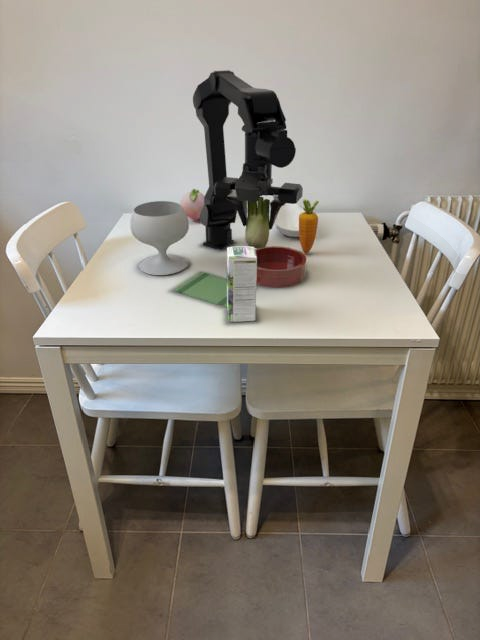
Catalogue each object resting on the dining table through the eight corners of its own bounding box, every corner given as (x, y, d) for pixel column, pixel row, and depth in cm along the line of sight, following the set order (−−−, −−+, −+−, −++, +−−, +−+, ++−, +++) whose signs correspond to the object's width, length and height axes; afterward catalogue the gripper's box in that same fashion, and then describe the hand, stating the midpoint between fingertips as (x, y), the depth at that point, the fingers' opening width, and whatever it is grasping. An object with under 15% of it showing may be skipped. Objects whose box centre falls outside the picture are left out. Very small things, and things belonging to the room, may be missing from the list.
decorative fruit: (181, 216, 155) (179, 185, 149) (207, 214, 155) (205, 183, 150) (181, 226, 147) (179, 193, 141) (208, 225, 147) (207, 192, 142)
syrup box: (226, 308, 104) (225, 246, 96) (253, 307, 104) (254, 245, 97) (228, 322, 99) (226, 257, 91) (256, 321, 99) (257, 256, 92)
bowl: (234, 278, 116) (233, 262, 114) (263, 256, 127) (264, 241, 125) (288, 293, 110) (289, 276, 107) (314, 269, 120) (316, 253, 118)
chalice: (151, 252, 130) (145, 197, 122) (199, 258, 126) (196, 202, 119) (125, 273, 119) (117, 215, 111) (177, 281, 115) (172, 221, 107)
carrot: (317, 251, 129) (321, 196, 122) (313, 259, 125) (317, 202, 118) (298, 249, 131) (302, 195, 123) (294, 256, 127) (297, 200, 119)
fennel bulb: (271, 249, 111) (273, 197, 105) (252, 253, 109) (253, 201, 103) (259, 240, 115) (260, 190, 109) (241, 244, 114) (241, 194, 107)
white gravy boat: (319, 240, 136) (321, 215, 133) (279, 243, 135) (280, 218, 131) (297, 212, 156) (298, 190, 153) (261, 215, 155) (262, 193, 151)
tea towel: (173, 290, 111) (173, 289, 111) (200, 272, 119) (200, 271, 119) (227, 307, 104) (227, 306, 104) (253, 287, 112) (253, 286, 112)
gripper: (202, 162, 98) (205, 234, 106) (291, 170, 92) (287, 246, 100) (222, 150, 107) (224, 218, 115) (305, 156, 101) (300, 227, 109)
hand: (257, 227), depth 109 cm, fingers closed on fennel bulb, 6 cm apart
